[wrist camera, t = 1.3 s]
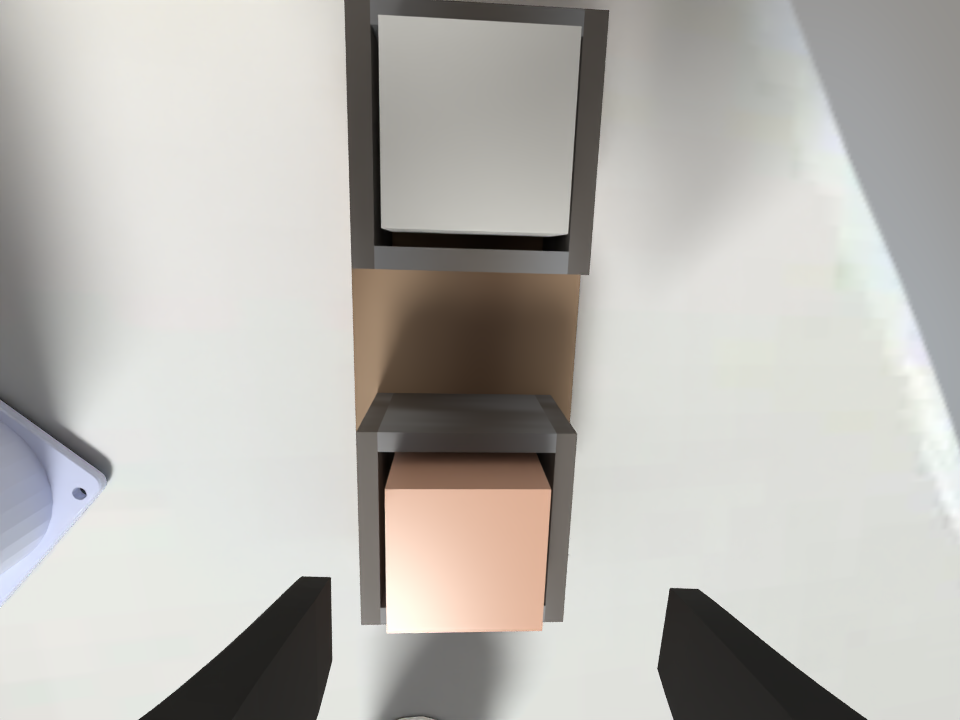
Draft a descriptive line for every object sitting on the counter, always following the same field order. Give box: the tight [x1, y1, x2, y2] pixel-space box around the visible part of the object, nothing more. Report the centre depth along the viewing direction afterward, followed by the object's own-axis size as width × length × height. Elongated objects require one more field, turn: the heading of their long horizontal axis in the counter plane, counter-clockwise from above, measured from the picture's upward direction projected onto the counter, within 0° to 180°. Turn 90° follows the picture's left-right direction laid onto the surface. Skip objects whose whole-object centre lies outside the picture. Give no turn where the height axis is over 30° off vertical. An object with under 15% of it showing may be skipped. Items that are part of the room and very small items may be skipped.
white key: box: [378, 15, 582, 237], centre depth 12 cm, size 4×4×2 cm
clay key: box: [385, 452, 551, 633], centre depth 15 cm, size 4×4×2 cm
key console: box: [344, 0, 609, 625], centre depth 16 cm, size 8×19×6 cm, turn 178°
